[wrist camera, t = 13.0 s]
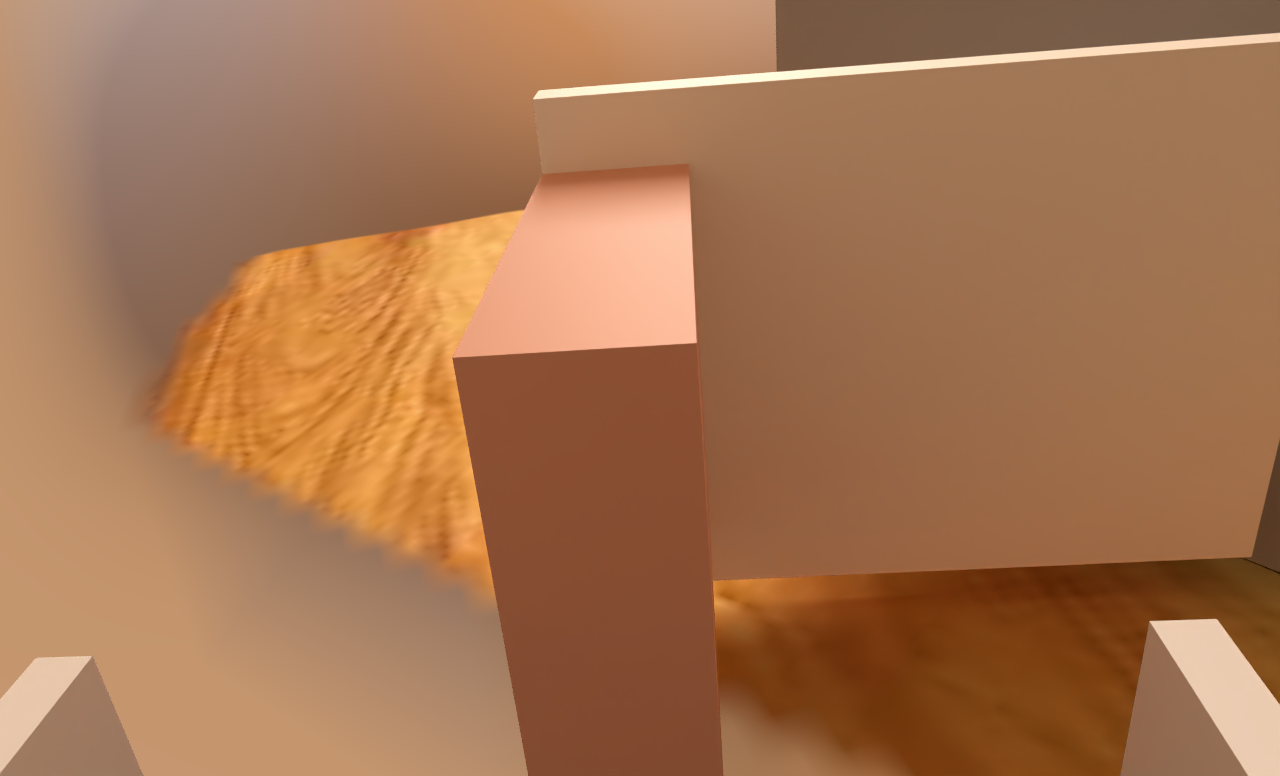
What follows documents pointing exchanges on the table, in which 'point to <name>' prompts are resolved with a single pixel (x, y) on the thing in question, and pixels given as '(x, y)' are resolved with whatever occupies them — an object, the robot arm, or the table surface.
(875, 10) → the carton
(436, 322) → the table surface
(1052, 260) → the door
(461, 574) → the table surface
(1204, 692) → the robot arm
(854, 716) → the table surface
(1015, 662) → the table surface
